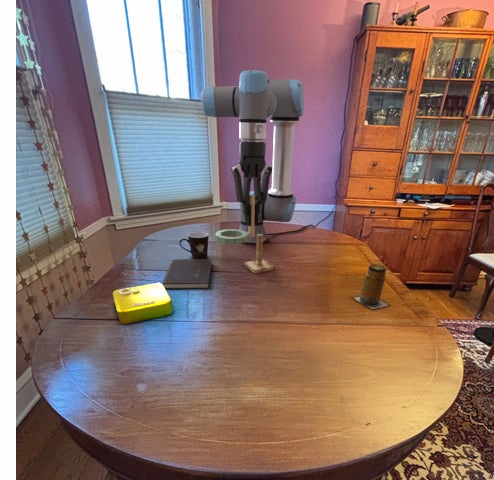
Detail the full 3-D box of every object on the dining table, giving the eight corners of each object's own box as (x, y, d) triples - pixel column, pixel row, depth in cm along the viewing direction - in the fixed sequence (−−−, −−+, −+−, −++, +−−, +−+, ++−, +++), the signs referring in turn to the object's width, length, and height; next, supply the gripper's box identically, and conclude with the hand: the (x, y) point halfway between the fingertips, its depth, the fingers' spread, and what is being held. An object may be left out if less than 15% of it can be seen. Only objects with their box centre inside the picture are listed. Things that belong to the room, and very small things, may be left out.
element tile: (120, 325, 82) (116, 310, 80) (114, 302, 93) (111, 288, 91) (174, 314, 88) (172, 299, 86) (163, 293, 99) (161, 280, 97)
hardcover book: (211, 264, 123) (211, 259, 122) (208, 288, 103) (208, 282, 102) (172, 264, 122) (171, 259, 120) (162, 289, 102) (161, 283, 101)
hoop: (223, 246, 91) (221, 201, 84) (211, 236, 98) (208, 194, 91) (261, 240, 96) (262, 197, 89) (247, 232, 104) (247, 192, 97)
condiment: (369, 294, 103) (378, 261, 96) (388, 305, 96) (398, 271, 90) (353, 298, 100) (360, 264, 94) (371, 310, 93) (381, 274, 87)
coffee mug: (211, 254, 133) (210, 232, 128) (207, 261, 125) (205, 238, 120) (186, 253, 134) (184, 231, 128) (180, 260, 126) (177, 236, 121)
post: (263, 262, 126) (264, 230, 119) (274, 269, 120) (276, 236, 113) (244, 265, 123) (244, 233, 116) (254, 273, 116) (255, 239, 109)
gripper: (234, 141, 79) (235, 230, 92) (281, 141, 85) (276, 225, 98) (223, 140, 85) (225, 224, 97) (268, 141, 91) (265, 219, 103)
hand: (251, 224), depth 97 cm, fingers closed on hoop, 2 cm apart
